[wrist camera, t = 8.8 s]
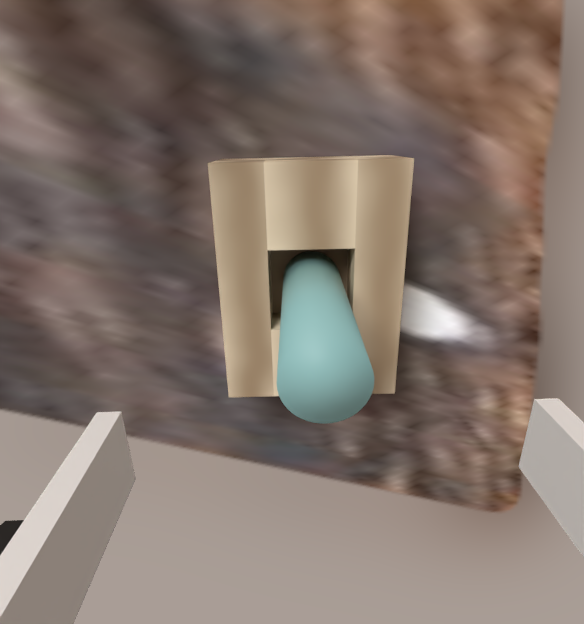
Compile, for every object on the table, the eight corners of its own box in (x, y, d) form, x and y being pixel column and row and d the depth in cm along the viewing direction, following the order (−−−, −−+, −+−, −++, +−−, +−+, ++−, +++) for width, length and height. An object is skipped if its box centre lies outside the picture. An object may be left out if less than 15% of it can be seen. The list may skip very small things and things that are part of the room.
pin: (284, 305, 31) (278, 424, 18) (282, 251, 30) (274, 340, 17) (338, 303, 31) (372, 422, 18) (339, 250, 29) (376, 338, 17)
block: (237, 357, 36) (228, 397, 31) (222, 159, 30) (207, 163, 25) (378, 354, 36) (394, 393, 31) (390, 155, 30) (414, 158, 25)
